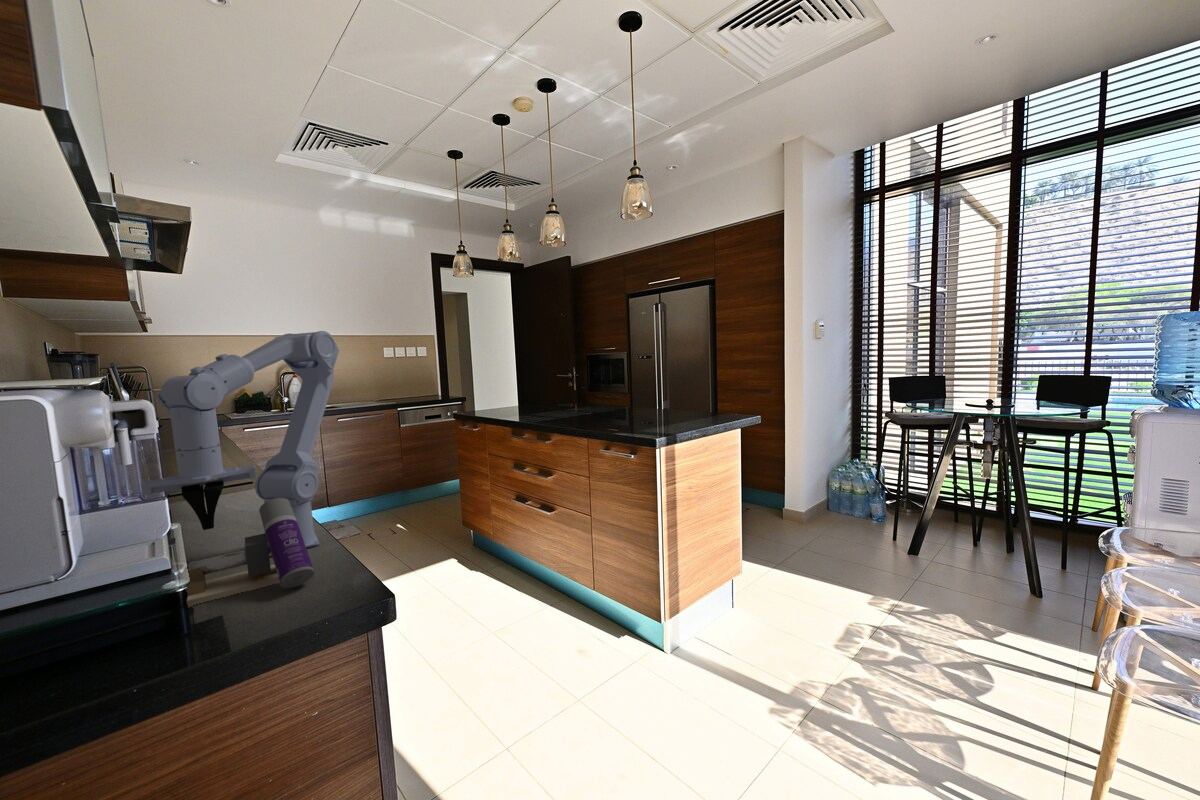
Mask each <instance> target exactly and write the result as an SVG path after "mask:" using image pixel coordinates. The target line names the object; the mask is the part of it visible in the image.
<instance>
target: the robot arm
mask: <svg viewBox="0 0 1200 800" xmlns="http://www.w3.org/2000/svg"><path fill="white" fill-rule="evenodd" d="M339 352H340V349H339V348H338V344H337V343H336V341H335V338H334V337H333V336H332V334H330V333H329V332H327V331H325V330H318V331H313V332H301V333H300V332H299V333H284V334H283V335H281V336H280V335H279V336H276V337H274V338H273V339H272V340H270V341H268V342H266V343H265V344H263V345H261V346H259V347H257V348H256V349H253V350H252V351H249V352H248V353H246V354H244V355H242V356H240V355H237V354H227V353H225V354H219V355H216V356H215V358H214V359H215V361H213V362H211V363H208V364H206V365H205V366H196V367H195V366H194V367H193V368H191V369H190V373H189V374H188V375H176V376H172V377H170V378H168V379H167V380H166V381H165V382H164V384H163V385H162V386H161V388H160V393H158V394H157V395H156V398H157V400H158V401H159V404H161V406H162V407H163V408H164V409H165V410H166V411H167V414H168V419H170V421H171V428H172V437H173V444H174V451H175V457H176V458H175V459H176V467H177V473H178V475H173V476H169V477H163V480H162V478H157V479H153V480H152V479H151V480H145V482H144V481H142V482H141V484H140V487H141V495H142V496H148V495H149V496H150V495H152V494H157V493H165V492H170V491H176V490H181V493H180V494H181V496H182V497H183V499H184V500H185V501H186V502H187V504H188V505H189V506H190V507H191V509H192V510H193V511H194V513H195V514H196V517H197V519H198V520H199V522H200V526H201V528H202V531H206V530H211V529H214V528H215V512H216V508H217V506H218V503H219V499H220V497H221V494H222V491H223V489H224V486H225V483H228V482H233V481H234V482H235V481H240V480H248V479H249V480H251V479H256V480H255V484H254V490H255V493H256V495H257V496H258V497H259V498H260V499H261V500H264V503H265V502H267V501H269V500H272V499H275V498H285V499H287V500H288V501H289V503H290V505H291V508H292V510H293V513H294V515H295V518H296V520H297V523H298V526H299V529H300V532H301V534H302V537H303V540H304V543H305V546H306V549H307V548H311V547H315V546H318V545H319V544H320V541H319V539H318V536H317V534H316V532H315V529H314V520H313V511H312V510H313V509H312V501H311V500H313V499H314V496H315V494H316V493H317V490H318V487H319V476H318V475H319V470H320V466H319V464H318V463H317V462H316V461H315V460H314V459H313V458H312V455H313V450H314V448H315V444H316V442H317V441H316V440H317V438H318V437H317V436H318V434H319V431H320V427H321V424H322V420H323V417H324V414H325V410H326V407H327V405H328V400H329V398H330V397H329V396H330V393H331V390H332V388H333V383H334V378H335V375H334V373H335V371H334V370H335V369H334V368H335V365H336V362H337V359H338V356H339ZM280 361H283V362H284V363H285V364H286V365H287V366H288V367H289V368H290V369H291V370H292V372H293V373H295V375H296V376H298V377H299V378H300V379H301V381H302V382H301V385H300V388H299V391H298V395H297V398H296V400H295V403H294V407H293V410H292V412H291V413H292V414H291V416H290V419H289V422H288V425H287V429H286V432H285V435H284V438H283V441H282V443H281V448H280V450H279V452H278V453H276V454H275V455H274V456H272V457H270V459H268V460H267V462H266V463H265V467H264V468H263V470H262V471H261V472H260V473H259V475H257V470H256V465H250V466H249V465H248V466H239V467H230V468H229V467H227V468H224V464H223V456H222V449H221V441H220V434H219V426H218V418H217V410H216V409H217V408H218V407H219V406H220V405H221V403H222V401H223V400H224V397H226V396H228V395H229V394H231V393H233V392H235V391H237V390H239V389H241V388H243V387H244V386H247V385H248V384H250V383H252V382H253V380H254V377H255V373H256V372H258V371H260V370H263V369H265V368H267V367H269V366H271V365H274V364H277V363H278V362H280ZM264 503H263V504H264Z"/></svg>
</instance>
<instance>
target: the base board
mask: <svg viewBox="0 0 1200 800" xmlns="http://www.w3.org/2000/svg"><path fill="white" fill-rule="evenodd" d="M186 565H187V569H188V573H189V577H190V584H189V586H188V587H187V586H186V593H187V598H186V606H187V605H188V607H187V608H190V607H194V606H193V605H195V606H197V605H196V604H198V605H200V604H199V603H202V604H204V603H203V602H206V601H209V600H213V601H215V600H214V599H217V600H219V599H218V598H221V599H223V598H222V597H224V598H228V597H231V596H230V595H232V596H235V595H234V594H236V595H238V594H237V593H239V594H242V593H241V592H243V593H246V591H247V592H250V591H253V590H258V589H262V588H265V587H269V586H272V584H273V585H276V584H281V583H280V580H279V577H278V574H277V571H276V567H275V564H270V567H271V572H268V573H264V574H260V575H256V576H252V577H249V576H248V570H246V571H242V572H238V573H233V574H229V575H225V576H220V577H217V578H212V579H210V580H206V576H205V575H206V574H205V575H203V573H202V567H197V568H193V569H189V564H186ZM268 585H269V586H268ZM261 587H262V588H261ZM257 588H258V589H257ZM227 596H228V597H227ZM206 603H207V602H206Z"/></svg>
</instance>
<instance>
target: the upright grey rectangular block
mask: <svg viewBox="0 0 1200 800" xmlns="http://www.w3.org/2000/svg"><path fill="white" fill-rule="evenodd" d="M268 545H269V544H268V541H267V538H266V534H265V532H264V533H261V534H255V535H251V536H246V537H244V550H245V551H246V559H247V565H246V566H247V567H246V568H247V571H248V576H249V577H252V576H256V575H260V574H264V573H268V572H271V567H270V565H271V561H270V560H271V559H270V558H269V550H268Z"/></svg>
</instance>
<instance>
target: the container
mask: <svg viewBox="0 0 1200 800" xmlns="http://www.w3.org/2000/svg"><path fill="white" fill-rule="evenodd" d="M258 511H259V514H260V515H259V516H260V519H261V522H262V525H263V529H264V533H265V534H266V538H267V541H268V545H269V548H270V551H271V554H272V557H273V558H272V560H273V563H274V564H275V567H276V571H277V574H278V577H279V580H280V583H279V584H280V587H282V588H284V589H291V588H292V589H294V588H296V587H299V586H302V585H303V584H306V583H307V582H309V581H311V580H312V578H313V577H314V575H315V570H314V567H313V564H312V561H311V557H310V555H309V553H308V549H307V548H306V546H305V543H304V540H303V537H302V534H301V532H300V529H299V526H298V523H297V520H296V518H295V515H294V513H293V510H292V508H291V505H290V503H289V501H288V500H287V499H285V498H275V499H272V500H269V501H267V502H265V503H263V504H262V505H261V506H260V508H259V509H258Z"/></svg>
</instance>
